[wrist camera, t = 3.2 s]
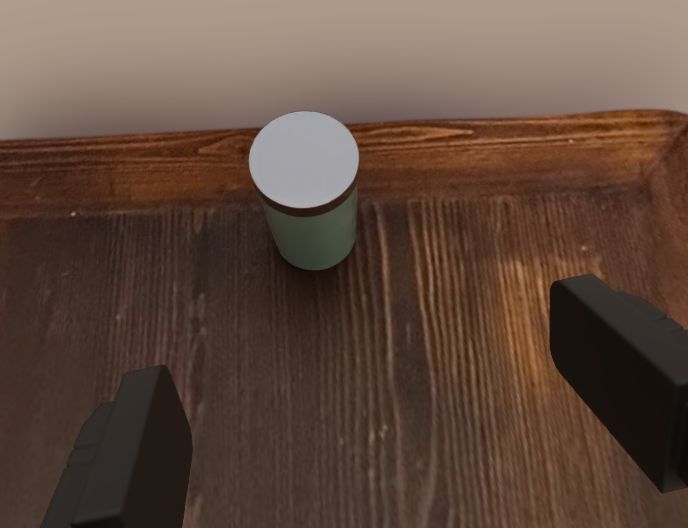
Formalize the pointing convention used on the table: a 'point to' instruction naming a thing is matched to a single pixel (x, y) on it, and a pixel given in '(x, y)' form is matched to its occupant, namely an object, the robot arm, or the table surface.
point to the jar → (308, 187)
